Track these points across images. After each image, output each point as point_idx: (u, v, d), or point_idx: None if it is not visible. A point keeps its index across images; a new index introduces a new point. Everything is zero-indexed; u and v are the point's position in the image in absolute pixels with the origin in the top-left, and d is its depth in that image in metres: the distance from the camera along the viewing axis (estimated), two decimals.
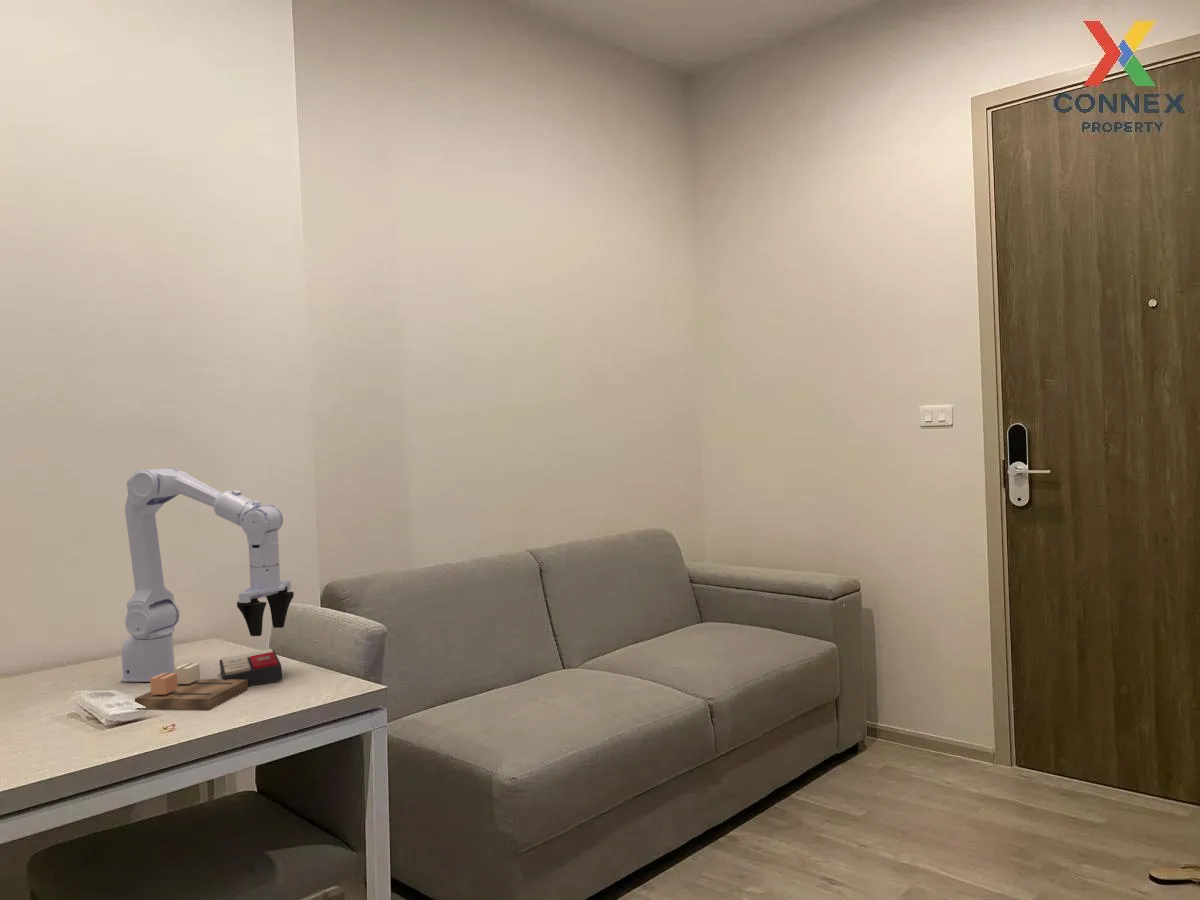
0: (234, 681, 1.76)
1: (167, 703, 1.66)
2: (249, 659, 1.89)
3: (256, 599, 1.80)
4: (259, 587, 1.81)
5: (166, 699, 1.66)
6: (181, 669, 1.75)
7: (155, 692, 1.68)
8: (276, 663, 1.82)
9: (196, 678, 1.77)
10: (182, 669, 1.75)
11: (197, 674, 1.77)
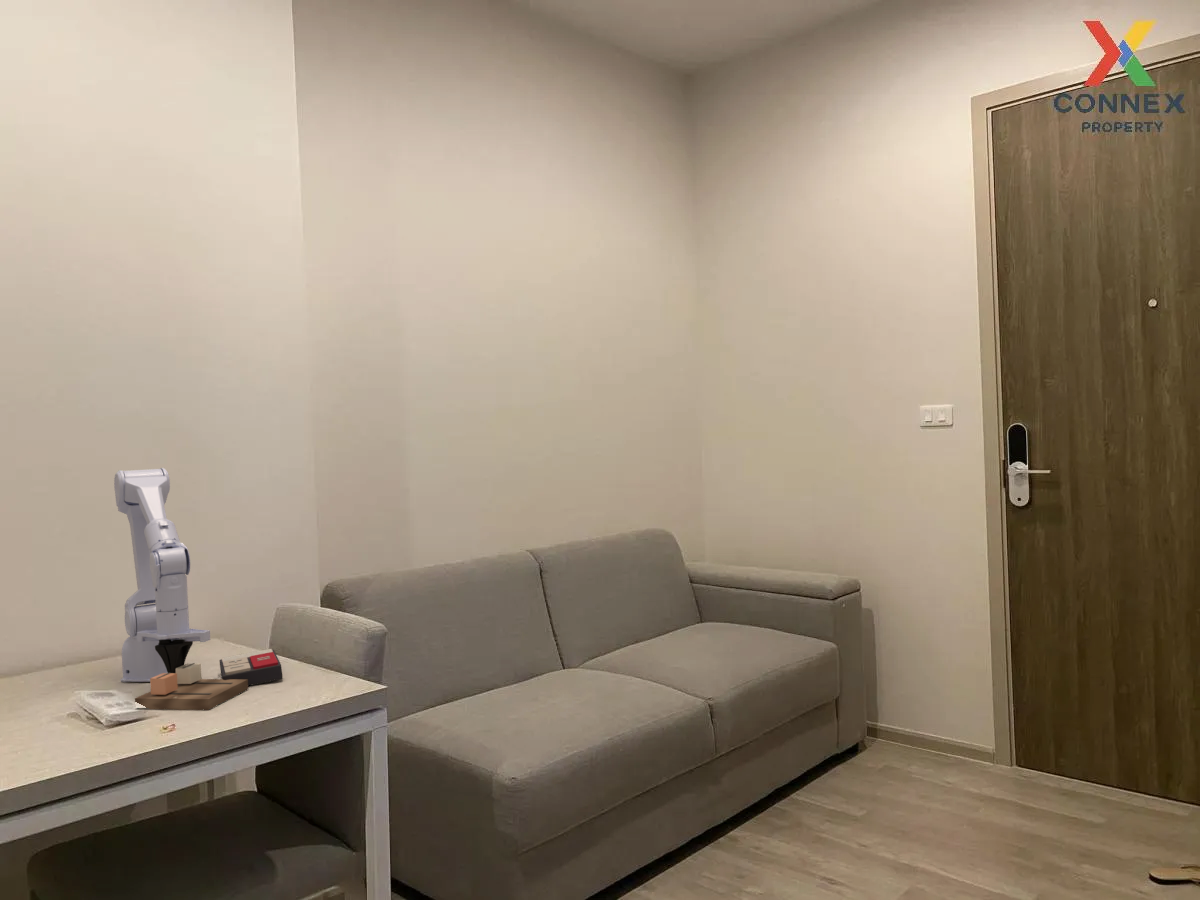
0: (234, 681, 1.76)
1: (167, 703, 1.66)
2: (249, 659, 1.89)
3: (151, 641, 1.77)
4: None
5: (166, 699, 1.66)
6: (183, 669, 1.75)
7: (155, 692, 1.68)
8: (276, 663, 1.82)
9: (198, 678, 1.77)
10: (184, 669, 1.75)
11: (198, 674, 1.77)
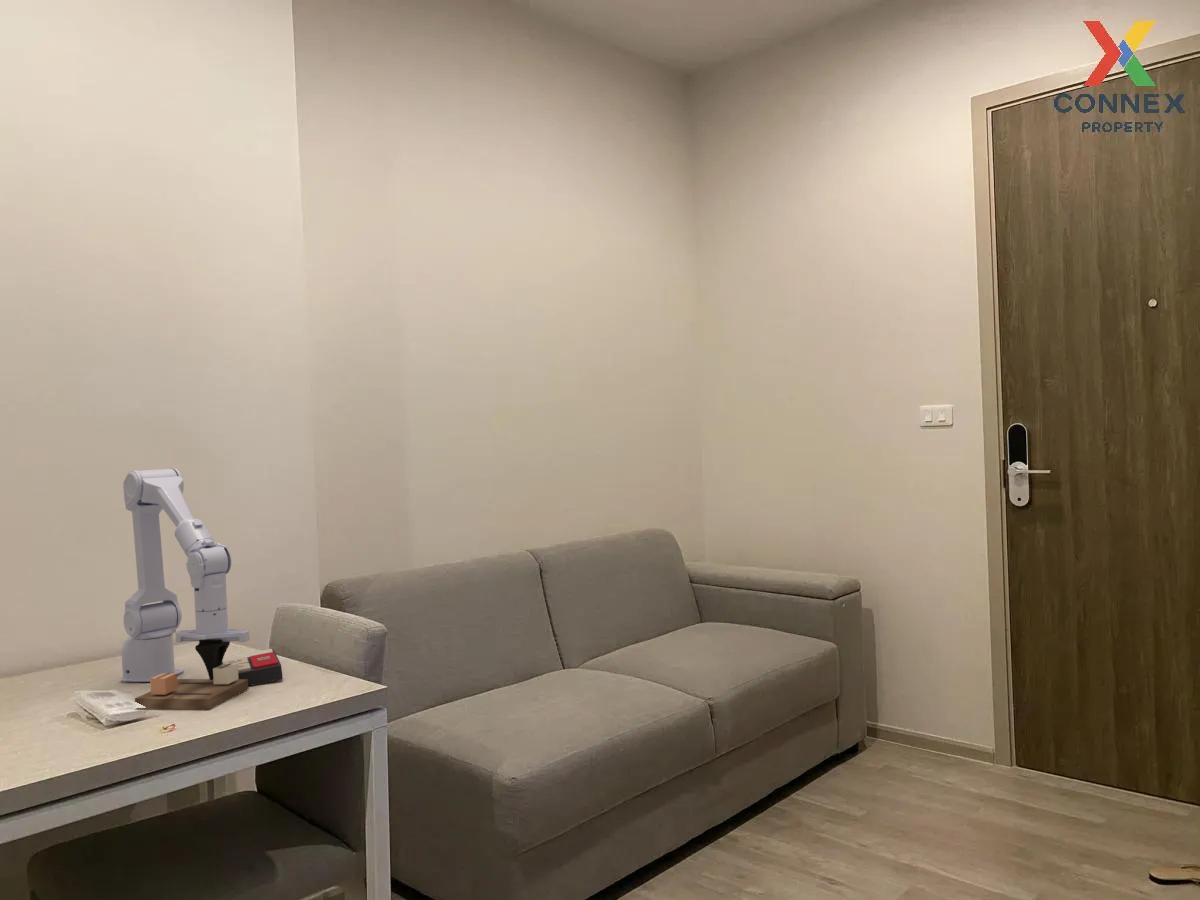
0: (234, 681, 1.76)
1: (167, 703, 1.66)
2: (249, 659, 1.89)
3: None
4: None
5: (166, 699, 1.66)
6: (220, 669, 1.73)
7: (155, 692, 1.68)
8: (276, 663, 1.82)
9: (235, 678, 1.75)
10: (221, 669, 1.73)
11: (235, 675, 1.76)
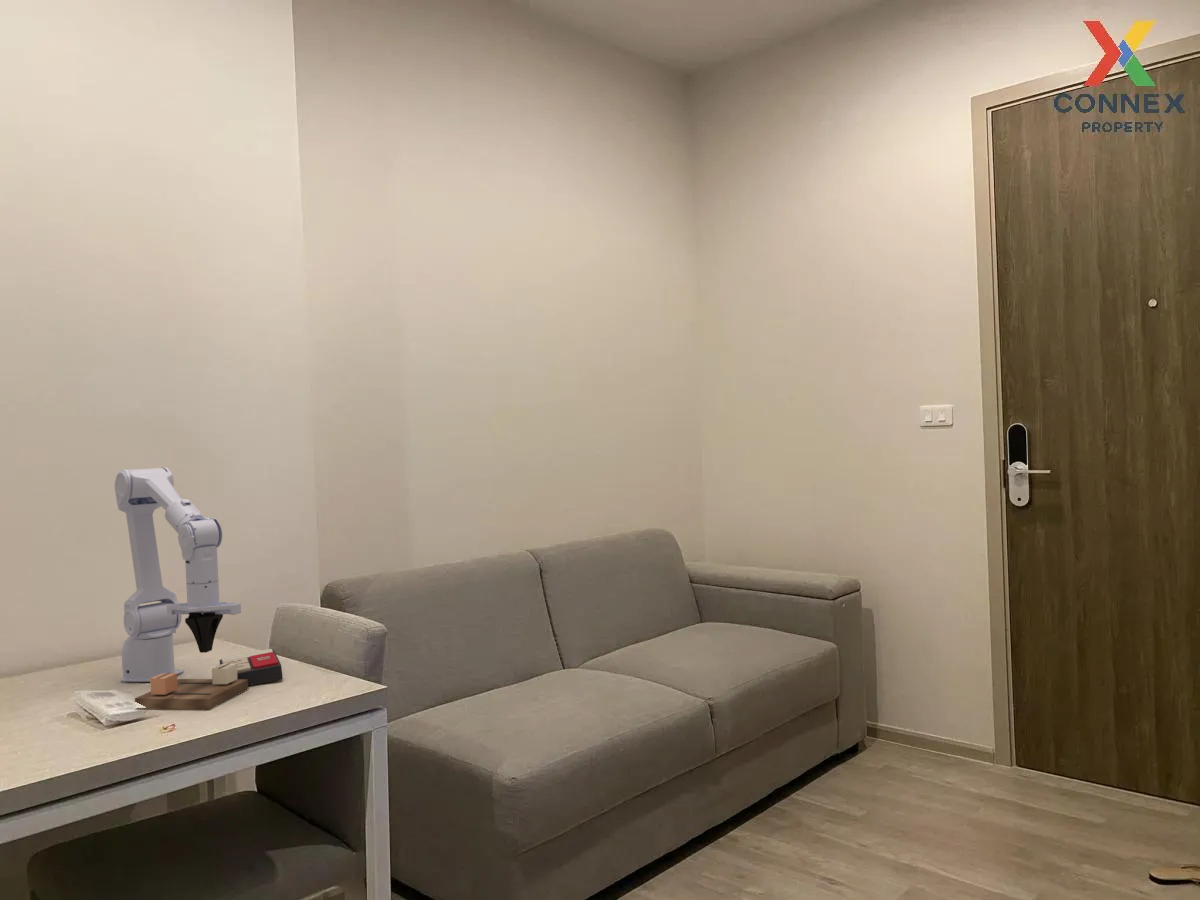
0: (234, 681, 1.76)
1: (167, 703, 1.66)
2: (249, 659, 1.89)
3: None
4: None
5: (166, 699, 1.66)
6: (219, 669, 1.73)
7: (155, 692, 1.68)
8: (276, 663, 1.82)
9: (234, 678, 1.76)
10: (220, 669, 1.73)
11: (234, 675, 1.76)
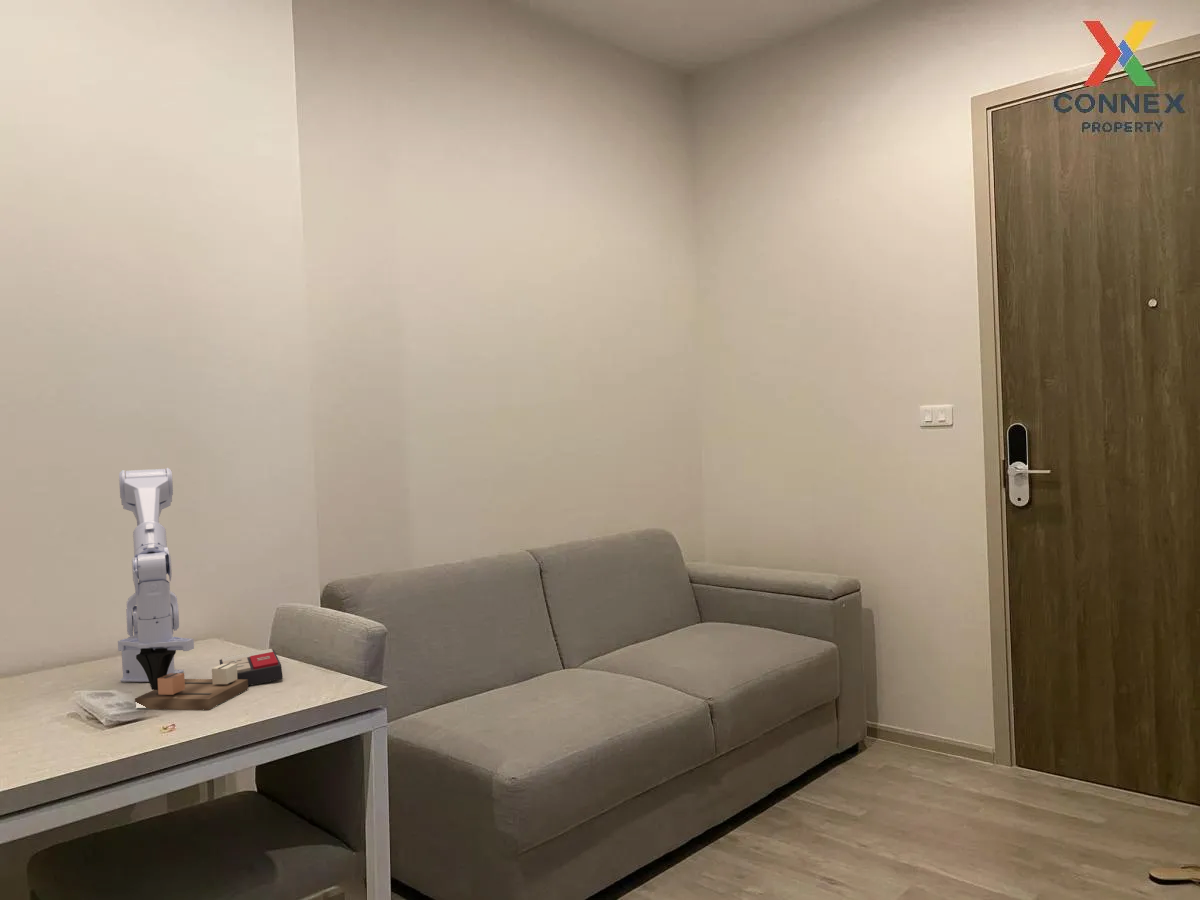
0: (234, 681, 1.76)
1: (167, 703, 1.66)
2: (249, 659, 1.89)
3: (132, 650, 1.70)
4: None
5: (166, 699, 1.66)
6: (219, 669, 1.73)
7: (162, 692, 1.68)
8: (276, 663, 1.82)
9: (234, 678, 1.76)
10: (220, 669, 1.73)
11: (234, 675, 1.76)
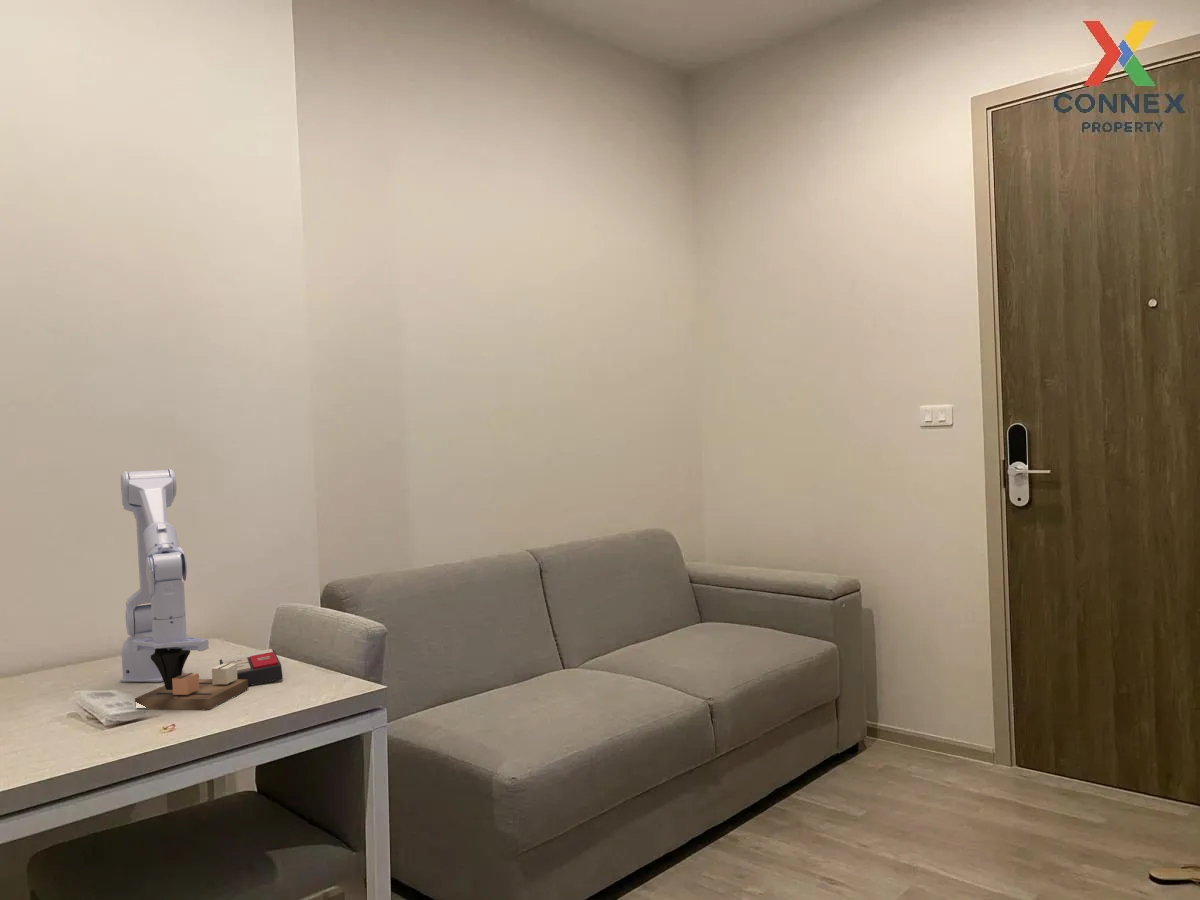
0: (234, 681, 1.76)
1: (167, 703, 1.66)
2: (249, 659, 1.89)
3: (147, 650, 1.69)
4: None
5: (166, 699, 1.66)
6: (219, 669, 1.73)
7: (177, 692, 1.67)
8: (276, 663, 1.82)
9: (234, 678, 1.76)
10: (220, 669, 1.73)
11: (234, 675, 1.76)
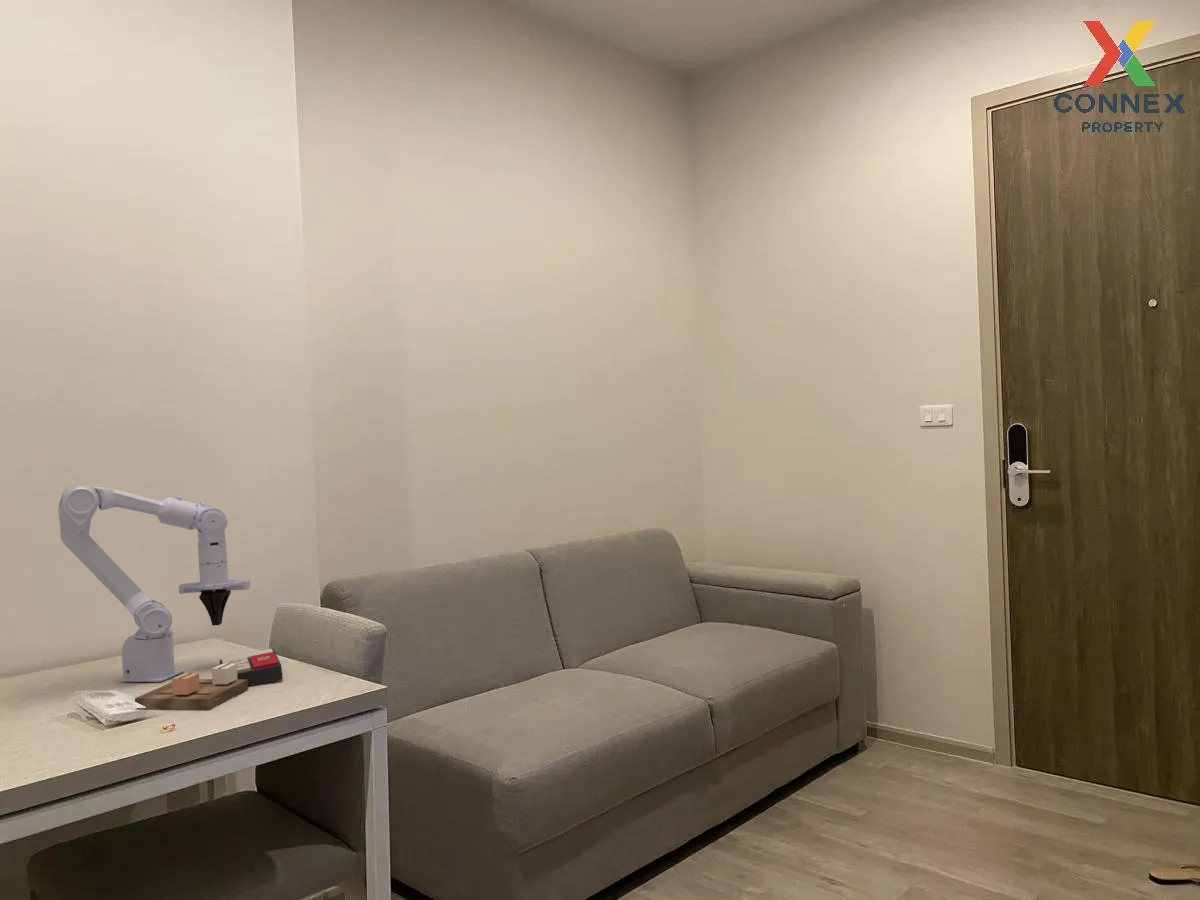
0: (234, 681, 1.76)
1: (167, 703, 1.66)
2: (249, 659, 1.89)
3: (193, 592, 1.95)
4: None
5: (166, 699, 1.66)
6: (219, 669, 1.73)
7: (177, 692, 1.67)
8: (276, 663, 1.82)
9: (234, 678, 1.76)
10: (220, 669, 1.73)
11: (234, 675, 1.76)
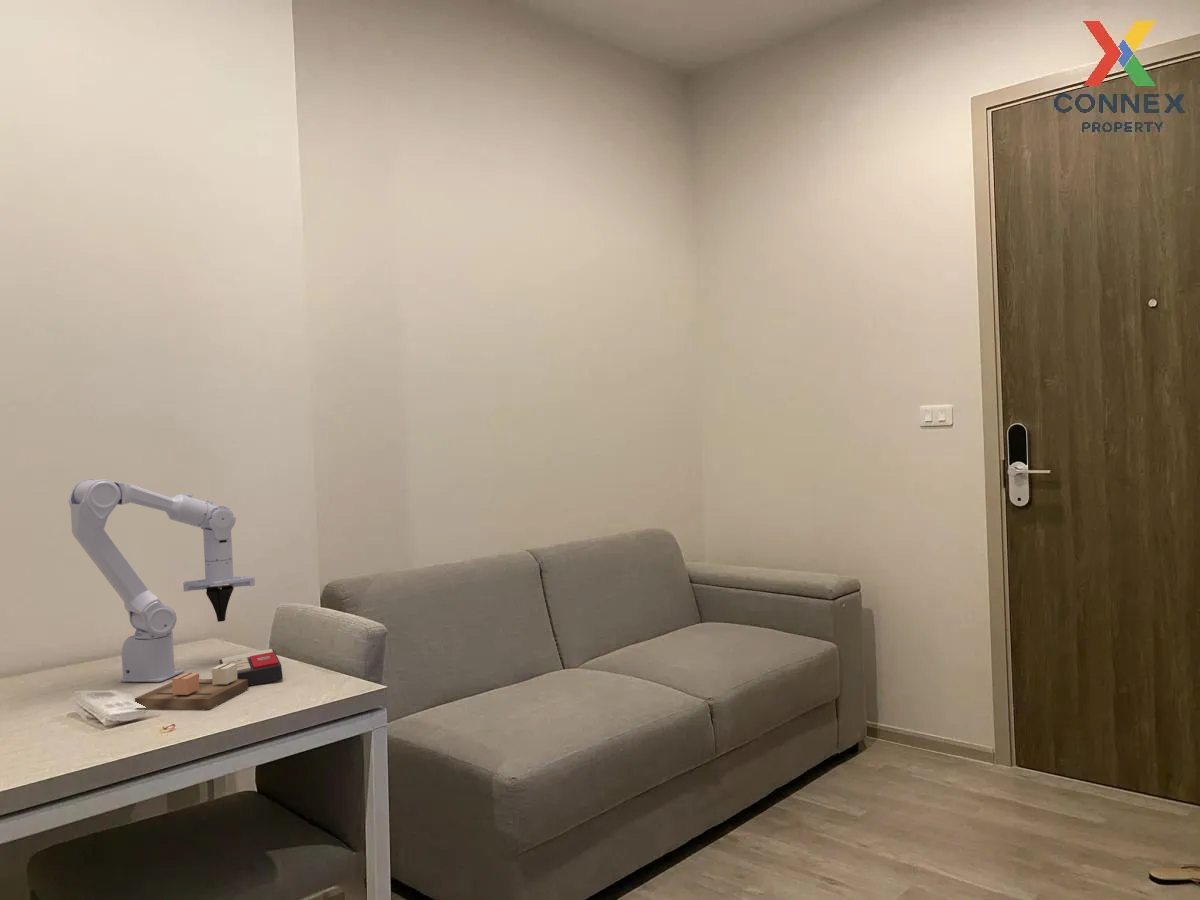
0: (234, 681, 1.76)
1: (167, 703, 1.66)
2: (249, 659, 1.89)
3: (198, 589, 1.98)
4: (205, 579, 1.99)
5: (166, 699, 1.66)
6: (219, 669, 1.73)
7: (177, 692, 1.67)
8: (276, 663, 1.82)
9: (234, 678, 1.76)
10: (220, 669, 1.73)
11: (234, 675, 1.76)
